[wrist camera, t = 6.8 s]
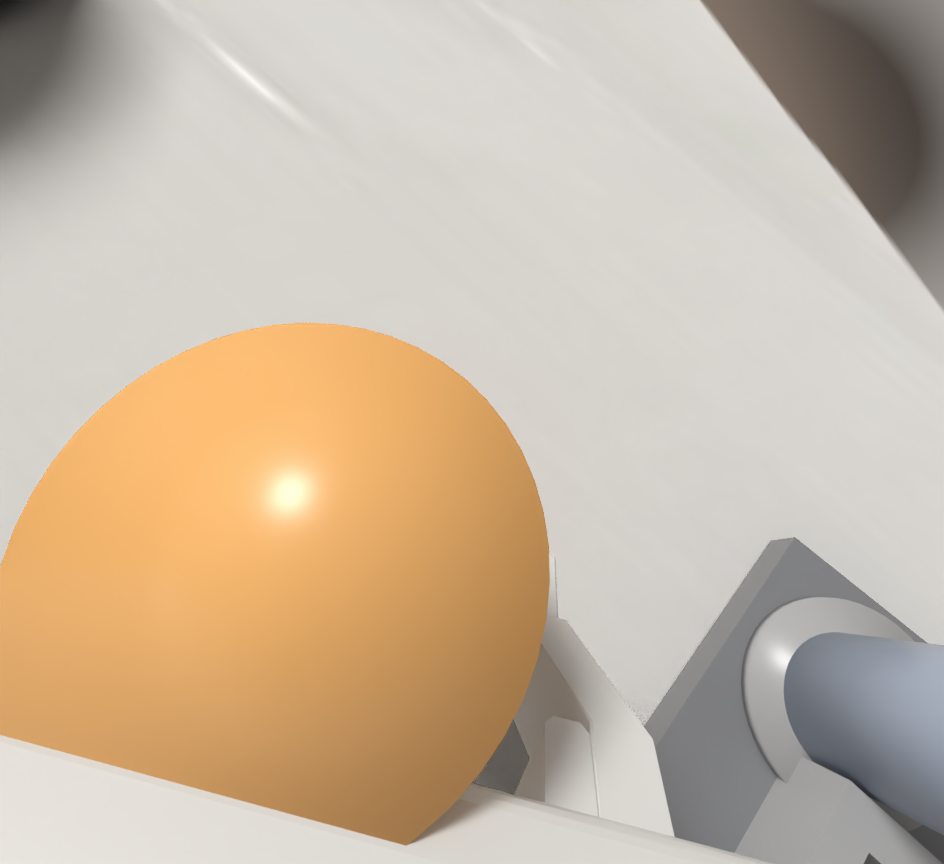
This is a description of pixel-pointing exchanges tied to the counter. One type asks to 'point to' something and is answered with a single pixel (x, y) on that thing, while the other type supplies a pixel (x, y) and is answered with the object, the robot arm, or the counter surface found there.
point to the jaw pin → (282, 580)
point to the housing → (806, 725)
